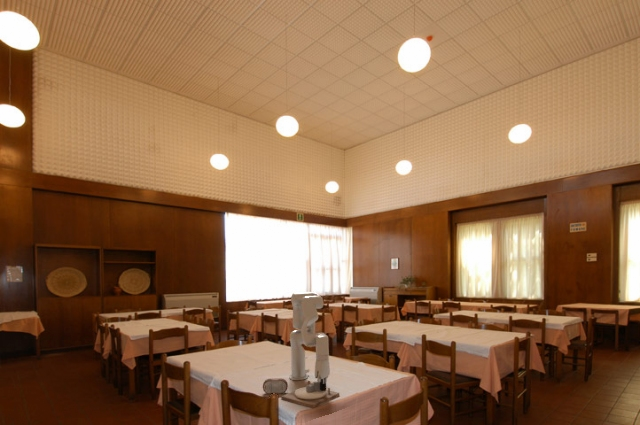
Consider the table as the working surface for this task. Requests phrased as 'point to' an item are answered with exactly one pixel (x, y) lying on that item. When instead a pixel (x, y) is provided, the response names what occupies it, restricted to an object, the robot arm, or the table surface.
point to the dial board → (312, 402)
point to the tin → (275, 386)
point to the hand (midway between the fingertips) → (323, 390)
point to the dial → (310, 392)
